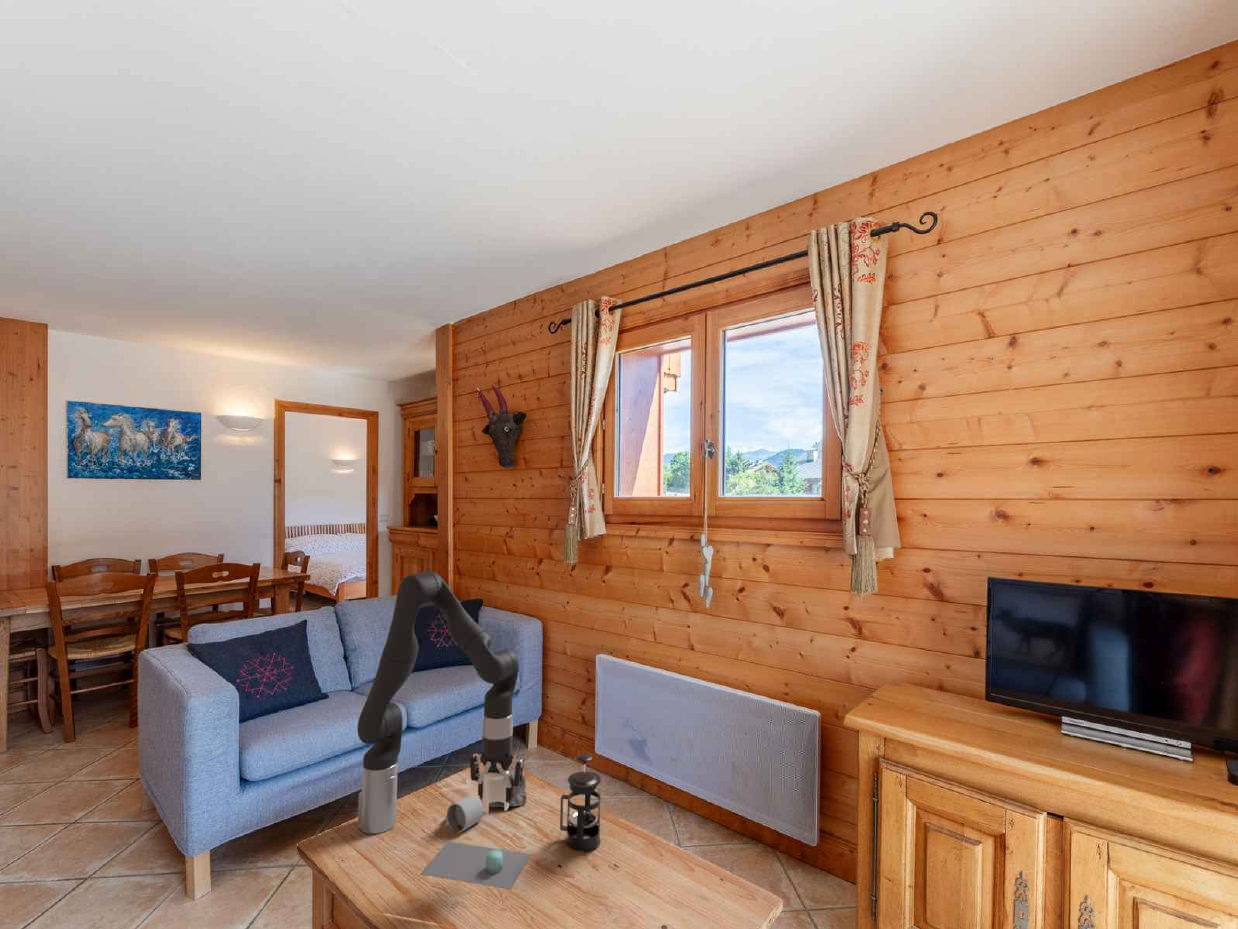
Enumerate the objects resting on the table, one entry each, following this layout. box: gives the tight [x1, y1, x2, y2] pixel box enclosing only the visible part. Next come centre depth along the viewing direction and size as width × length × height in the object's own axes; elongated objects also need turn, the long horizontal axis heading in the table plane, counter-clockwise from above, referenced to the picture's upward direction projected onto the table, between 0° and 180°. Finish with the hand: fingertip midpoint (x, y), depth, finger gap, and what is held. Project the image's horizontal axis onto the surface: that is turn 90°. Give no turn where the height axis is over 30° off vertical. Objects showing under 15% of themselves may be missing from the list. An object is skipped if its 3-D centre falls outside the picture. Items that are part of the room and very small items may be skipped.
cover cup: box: [482, 770, 510, 814], centre depth 150 cm, size 6×6×9 cm
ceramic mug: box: [445, 794, 485, 834], centre depth 170 cm, size 11×8×8 cm
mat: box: [419, 840, 532, 890], centre depth 152 cm, size 24×14×1 cm, turn 78°
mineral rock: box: [481, 769, 527, 808], centre depth 182 cm, size 13×11×10 cm
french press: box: [559, 753, 602, 853], centre depth 163 cm, size 12×9×23 cm
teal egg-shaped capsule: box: [486, 850, 503, 874], centre depth 150 cm, size 4×4×4 cm
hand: (495, 799), depth 150 cm, fingers closed on cover cup, 6 cm apart
